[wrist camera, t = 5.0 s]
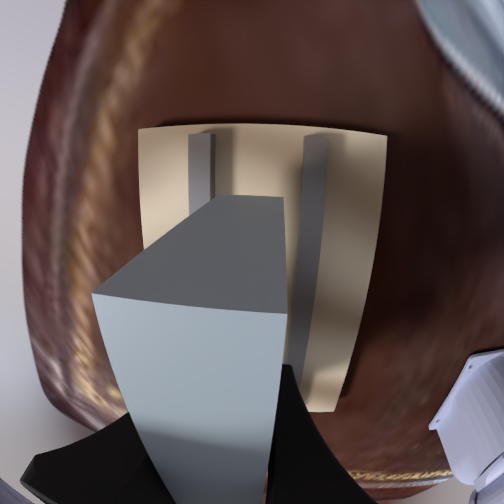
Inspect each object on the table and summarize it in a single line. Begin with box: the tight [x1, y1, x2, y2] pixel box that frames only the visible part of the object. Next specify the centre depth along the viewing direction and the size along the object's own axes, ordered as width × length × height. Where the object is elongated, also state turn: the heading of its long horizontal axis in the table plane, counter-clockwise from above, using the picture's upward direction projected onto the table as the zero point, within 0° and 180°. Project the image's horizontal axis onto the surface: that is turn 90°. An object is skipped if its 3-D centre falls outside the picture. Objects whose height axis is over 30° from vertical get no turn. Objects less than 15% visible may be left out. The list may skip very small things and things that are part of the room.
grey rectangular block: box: [92, 194, 288, 504], centre depth 9 cm, size 12×2×8 cm, turn 178°
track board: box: [138, 124, 387, 412], centre depth 15 cm, size 18×12×2 cm, turn 178°
